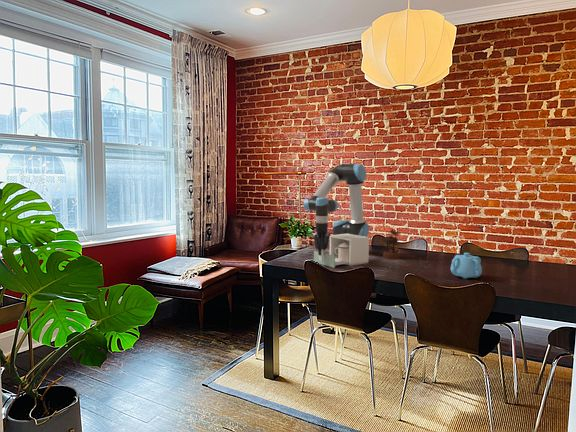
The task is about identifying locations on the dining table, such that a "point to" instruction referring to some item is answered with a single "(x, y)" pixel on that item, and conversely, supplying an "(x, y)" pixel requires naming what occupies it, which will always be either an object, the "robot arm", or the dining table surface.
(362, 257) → the housing
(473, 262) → the decorative pot
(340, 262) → the tray
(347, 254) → the teacup with lid
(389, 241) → the bird nest figurine
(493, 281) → the dining table surface
